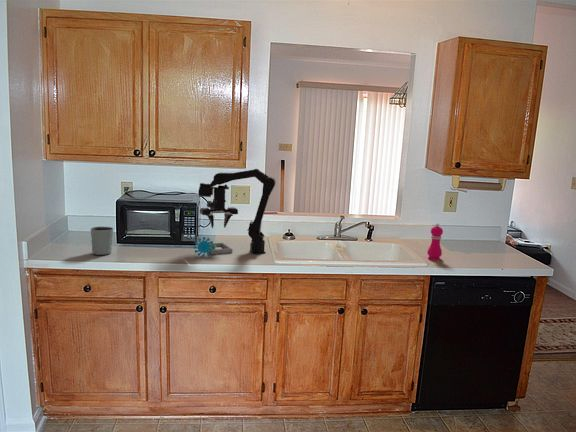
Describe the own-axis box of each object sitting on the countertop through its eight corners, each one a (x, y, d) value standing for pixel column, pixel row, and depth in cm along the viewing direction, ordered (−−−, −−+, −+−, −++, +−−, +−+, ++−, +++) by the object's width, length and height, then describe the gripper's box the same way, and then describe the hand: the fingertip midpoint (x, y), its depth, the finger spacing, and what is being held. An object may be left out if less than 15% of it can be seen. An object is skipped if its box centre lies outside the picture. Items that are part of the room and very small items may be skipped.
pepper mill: (431, 263, 248) (435, 224, 244) (423, 259, 254) (427, 222, 251) (443, 262, 250) (447, 224, 247) (435, 259, 256) (439, 222, 253)
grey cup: (86, 252, 231) (86, 228, 229) (102, 249, 240) (102, 225, 238) (101, 256, 227) (101, 231, 225) (118, 252, 236) (117, 228, 234)
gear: (192, 256, 233) (193, 236, 237) (195, 259, 239) (196, 240, 243) (215, 255, 233) (216, 236, 237) (217, 259, 238) (218, 240, 242)
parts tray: (223, 247, 258) (223, 242, 257) (232, 253, 245) (232, 248, 245) (203, 248, 253) (203, 243, 253) (212, 254, 240) (212, 249, 240)
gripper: (231, 195, 256) (230, 224, 258) (197, 195, 248) (196, 225, 250) (238, 198, 246) (237, 228, 248) (203, 198, 238) (202, 229, 240)
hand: (218, 227), depth 247 cm, fingers open, 6 cm apart
